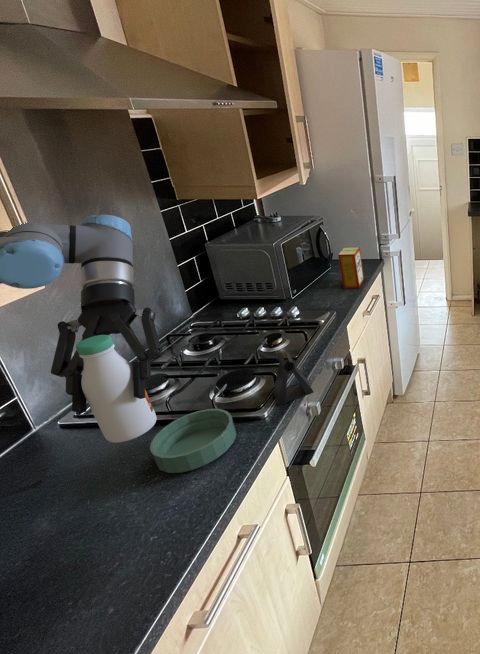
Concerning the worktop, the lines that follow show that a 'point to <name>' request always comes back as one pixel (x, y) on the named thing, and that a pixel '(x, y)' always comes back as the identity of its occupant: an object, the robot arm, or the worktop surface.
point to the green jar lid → (193, 440)
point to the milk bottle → (113, 391)
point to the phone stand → (280, 389)
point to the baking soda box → (351, 267)
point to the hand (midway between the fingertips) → (110, 404)
